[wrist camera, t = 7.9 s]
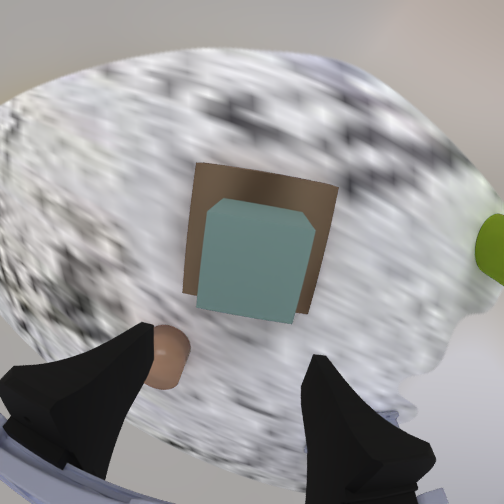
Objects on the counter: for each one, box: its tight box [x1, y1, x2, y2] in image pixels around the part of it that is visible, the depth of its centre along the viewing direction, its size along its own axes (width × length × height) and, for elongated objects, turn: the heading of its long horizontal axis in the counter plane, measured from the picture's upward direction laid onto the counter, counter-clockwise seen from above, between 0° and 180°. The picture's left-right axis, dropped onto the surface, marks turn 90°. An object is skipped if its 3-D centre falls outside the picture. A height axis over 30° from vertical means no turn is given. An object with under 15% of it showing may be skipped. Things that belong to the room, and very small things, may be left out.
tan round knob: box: [144, 325, 191, 390], centre depth 22 cm, size 4×4×4 cm
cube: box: [196, 198, 316, 324], centre depth 16 cm, size 5×5×5 cm
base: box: [182, 163, 339, 314], centre depth 19 cm, size 9×9×2 cm
